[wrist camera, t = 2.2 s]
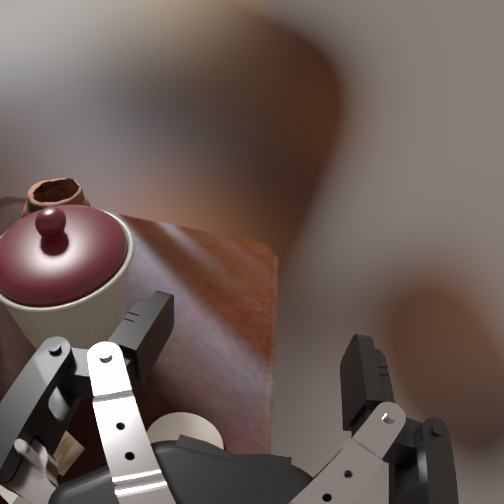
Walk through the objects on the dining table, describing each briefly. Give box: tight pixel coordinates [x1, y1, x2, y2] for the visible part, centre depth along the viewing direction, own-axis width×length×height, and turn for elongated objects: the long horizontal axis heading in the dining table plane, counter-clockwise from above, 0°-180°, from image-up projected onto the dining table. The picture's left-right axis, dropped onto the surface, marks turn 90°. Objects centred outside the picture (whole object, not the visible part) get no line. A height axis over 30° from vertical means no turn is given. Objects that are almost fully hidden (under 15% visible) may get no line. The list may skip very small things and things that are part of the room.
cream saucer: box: [146, 412, 224, 450], centre depth 28 cm, size 9×9×1 cm
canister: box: [0, 205, 134, 350], centre depth 30 cm, size 18×18×21 cm
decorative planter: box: [22, 178, 91, 218], centre depth 45 cm, size 20×12×14 cm, turn 74°
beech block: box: [54, 431, 85, 476], centre depth 21 cm, size 5×5×6 cm
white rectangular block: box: [0, 485, 33, 504], centre depth 16 cm, size 5×5×6 cm
